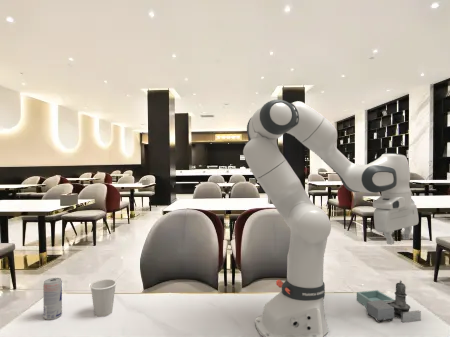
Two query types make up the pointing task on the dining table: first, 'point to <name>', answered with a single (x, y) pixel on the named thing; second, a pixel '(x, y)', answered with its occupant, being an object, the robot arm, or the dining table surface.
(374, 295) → the tray
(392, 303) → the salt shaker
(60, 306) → the energy drink
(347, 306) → the dining table surface
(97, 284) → the dixie cup
